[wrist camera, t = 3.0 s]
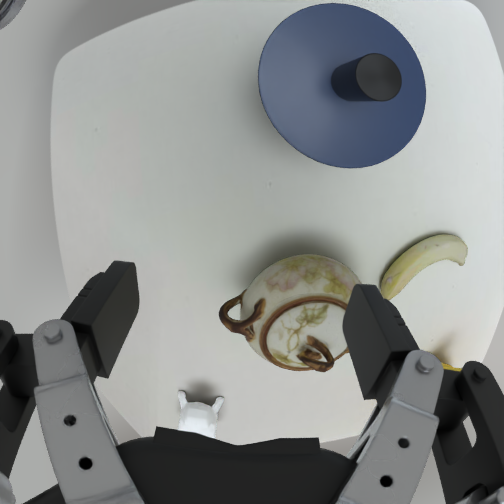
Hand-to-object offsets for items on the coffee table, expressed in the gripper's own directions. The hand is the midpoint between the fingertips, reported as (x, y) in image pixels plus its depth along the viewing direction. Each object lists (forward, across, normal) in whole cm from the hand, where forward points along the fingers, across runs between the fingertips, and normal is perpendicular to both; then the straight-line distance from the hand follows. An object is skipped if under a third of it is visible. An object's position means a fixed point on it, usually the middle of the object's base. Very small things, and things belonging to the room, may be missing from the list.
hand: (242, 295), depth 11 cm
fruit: (+25, -26, +10) cm, 37 cm away
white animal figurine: (+25, +5, +44) cm, 51 cm away
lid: (+11, -6, -9) cm, 16 cm away
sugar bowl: (+25, -8, +15) cm, 30 cm away
